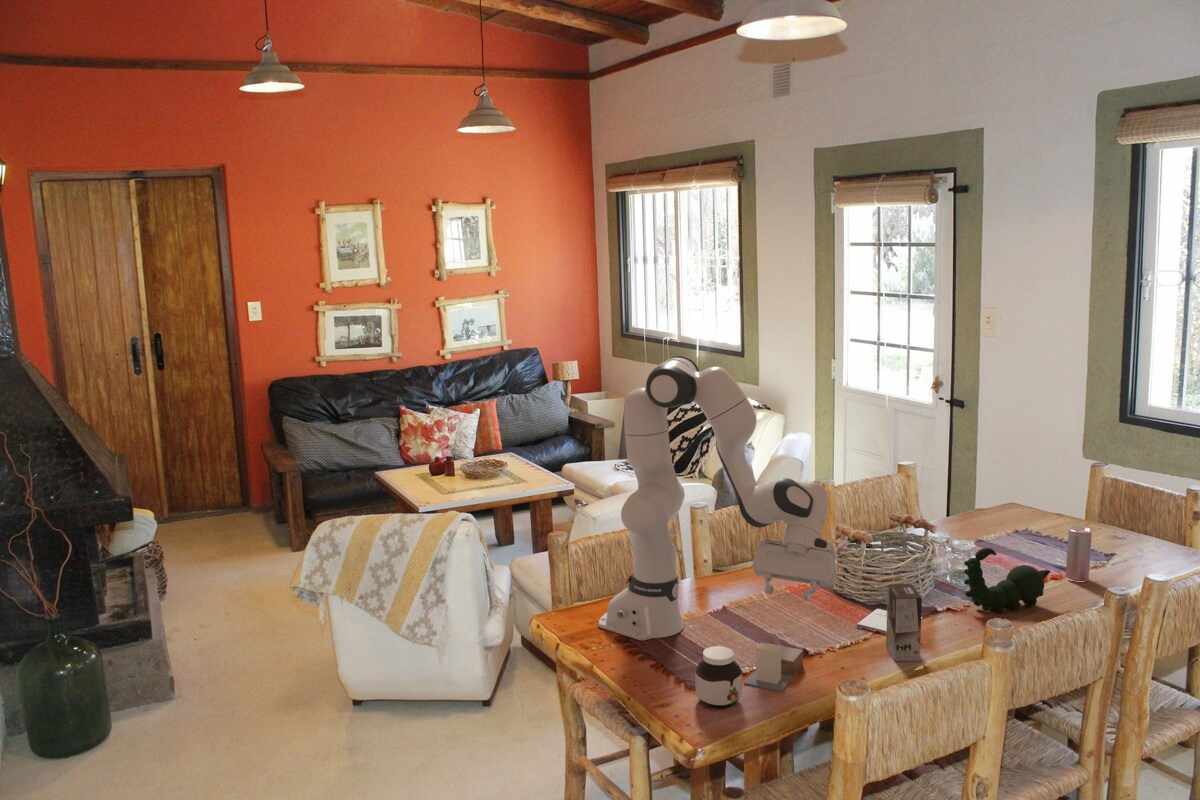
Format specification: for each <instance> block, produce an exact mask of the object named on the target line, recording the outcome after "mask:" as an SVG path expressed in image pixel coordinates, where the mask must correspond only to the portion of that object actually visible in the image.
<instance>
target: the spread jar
mask: <svg viewBox="0 0 1200 800" xmlns="http://www.w3.org/2000/svg"><path fill="white" fill-rule="evenodd" d="M742 670H743V669H742V668H741V666H740V665H739V663H738V662H737V661H736V660H735V653H734V651H733V650H732V649H731V648H729V647H726V646H718V645H717V646H709V647H707V648H706V649H704V650H703V652H702V659H701V660H700V662H699V663H698V664H697V666H696V668H695V673H694V687H695V693H696V696H697V697H698V699H699V700H700V701H701V703H703V704H704V705H706V706H707V707H709V708H712V709H715V710H717V709H718V710H719V709H720V710H723V709H728V708H731V707H732V706H734V705H735V704H736V703H737V702H738V701H739V700H740V698H741V697H742V694H743V672H742Z"/></svg>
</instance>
